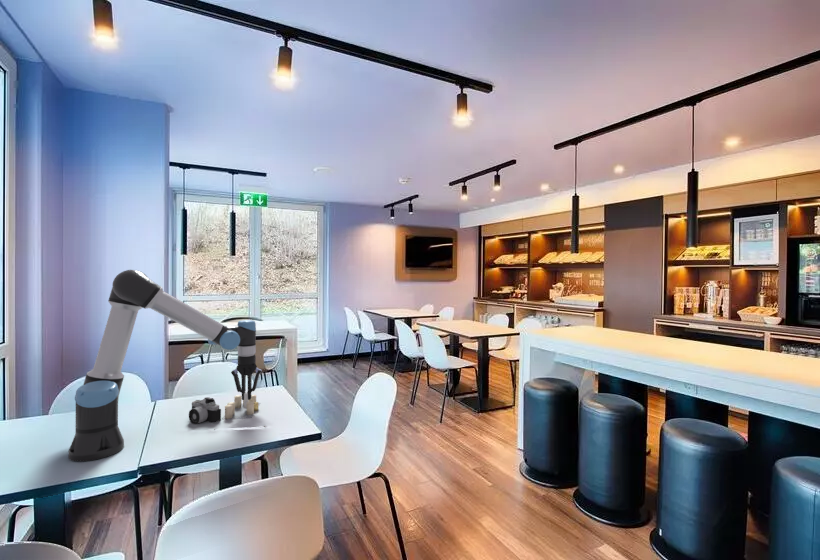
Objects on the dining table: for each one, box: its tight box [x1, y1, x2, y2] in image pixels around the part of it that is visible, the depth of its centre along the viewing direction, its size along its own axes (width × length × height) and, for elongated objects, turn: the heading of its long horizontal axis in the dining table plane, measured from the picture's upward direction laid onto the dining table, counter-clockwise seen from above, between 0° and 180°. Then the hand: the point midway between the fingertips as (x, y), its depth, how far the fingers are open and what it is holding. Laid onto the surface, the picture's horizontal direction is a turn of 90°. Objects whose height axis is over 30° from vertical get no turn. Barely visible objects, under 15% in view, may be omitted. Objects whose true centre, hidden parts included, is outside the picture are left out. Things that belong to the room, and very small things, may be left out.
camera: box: [188, 397, 222, 425], centre depth 167 cm, size 16×9×10 cm, turn 65°
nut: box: [254, 401, 259, 412], centre depth 179 cm, size 4×4×3 cm
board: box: [221, 394, 261, 420], centre depth 179 cm, size 20×12×6 cm, turn 10°
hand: (246, 406), depth 179 cm, fingers closed
